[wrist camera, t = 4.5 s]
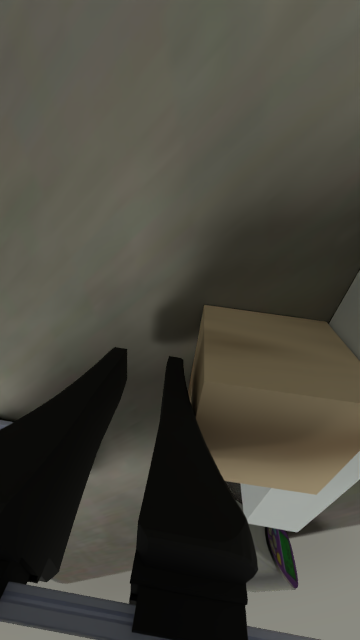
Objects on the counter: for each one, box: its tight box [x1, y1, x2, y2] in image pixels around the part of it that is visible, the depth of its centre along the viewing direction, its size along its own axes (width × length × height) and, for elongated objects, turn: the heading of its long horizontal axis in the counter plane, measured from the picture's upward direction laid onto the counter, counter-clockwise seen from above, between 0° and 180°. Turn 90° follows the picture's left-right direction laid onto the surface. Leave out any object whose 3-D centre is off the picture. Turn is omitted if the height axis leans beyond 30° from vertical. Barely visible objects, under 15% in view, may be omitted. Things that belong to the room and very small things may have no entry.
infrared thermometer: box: [236, 500, 298, 592], centre depth 24 cm, size 5×12×15 cm
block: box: [188, 305, 360, 495], centre depth 11 cm, size 6×6×5 cm
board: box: [240, 270, 360, 532], centre depth 13 cm, size 22×4×3 cm, turn 173°
